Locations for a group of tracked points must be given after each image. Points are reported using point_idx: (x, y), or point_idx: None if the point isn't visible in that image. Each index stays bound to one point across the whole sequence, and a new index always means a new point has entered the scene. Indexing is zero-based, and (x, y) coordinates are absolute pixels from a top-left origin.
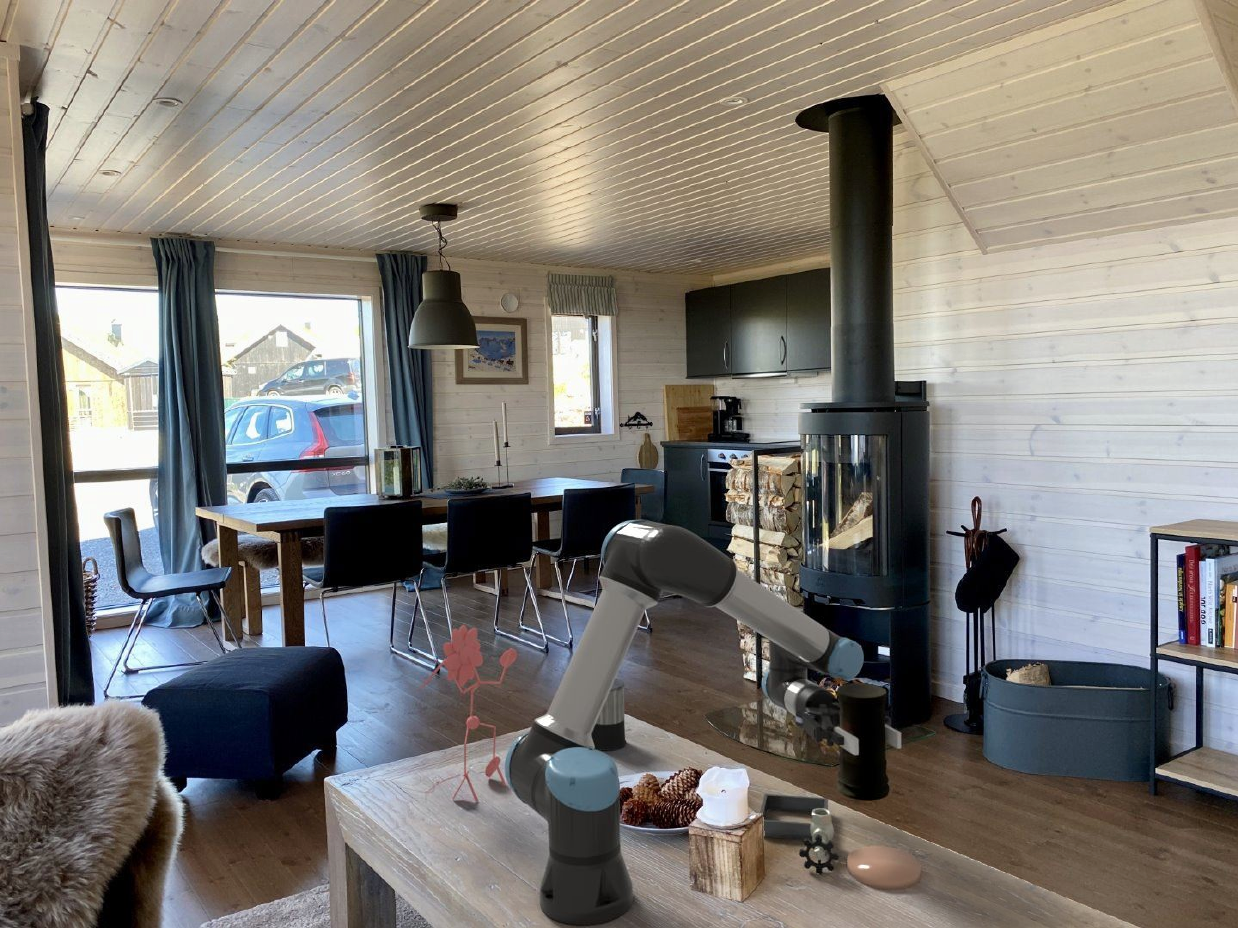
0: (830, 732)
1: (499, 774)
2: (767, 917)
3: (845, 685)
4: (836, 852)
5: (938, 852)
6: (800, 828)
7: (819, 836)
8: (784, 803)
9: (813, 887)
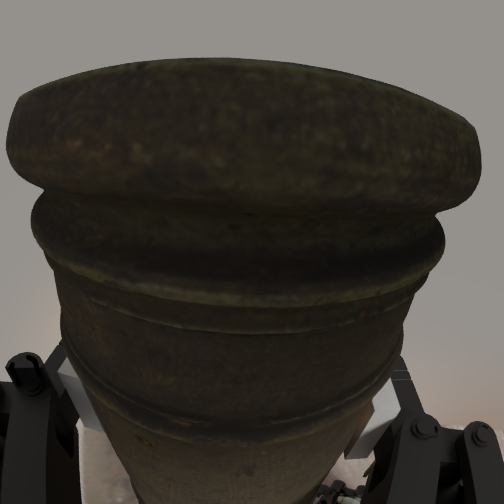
0: (420, 406)
1: None
2: (440, 424)
3: (365, 81)
4: (321, 490)
5: (93, 475)
6: None
7: (363, 487)
8: None
9: (367, 476)
